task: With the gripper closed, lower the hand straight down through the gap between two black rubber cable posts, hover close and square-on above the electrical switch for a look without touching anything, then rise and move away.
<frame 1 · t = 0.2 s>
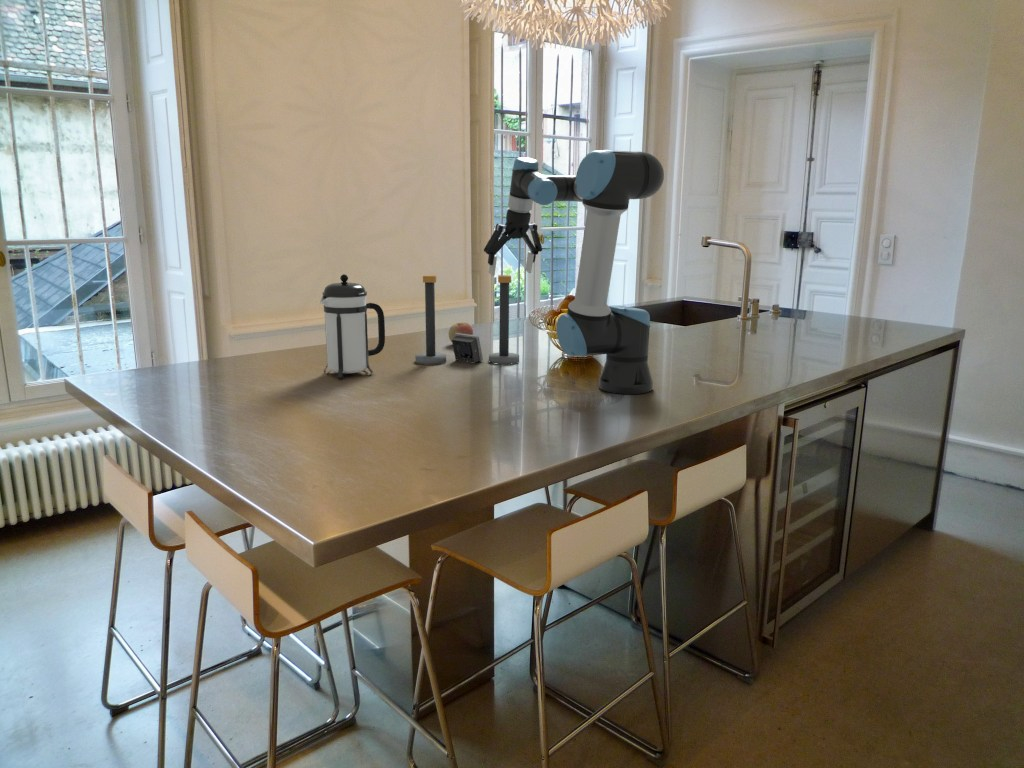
hand: (510, 272, 246), 29 cm above the kitchen island, tool tilted 15°, fingers open, 13 cm apart
coffee press: (351, 374, 230), on the kitchen island
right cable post: (503, 361, 249), on the kitchen island
electrical switch: (467, 362, 249), on the kitchen island
apple: (460, 345, 276), on the kitchen island
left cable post: (430, 361, 248), on the kitchen island
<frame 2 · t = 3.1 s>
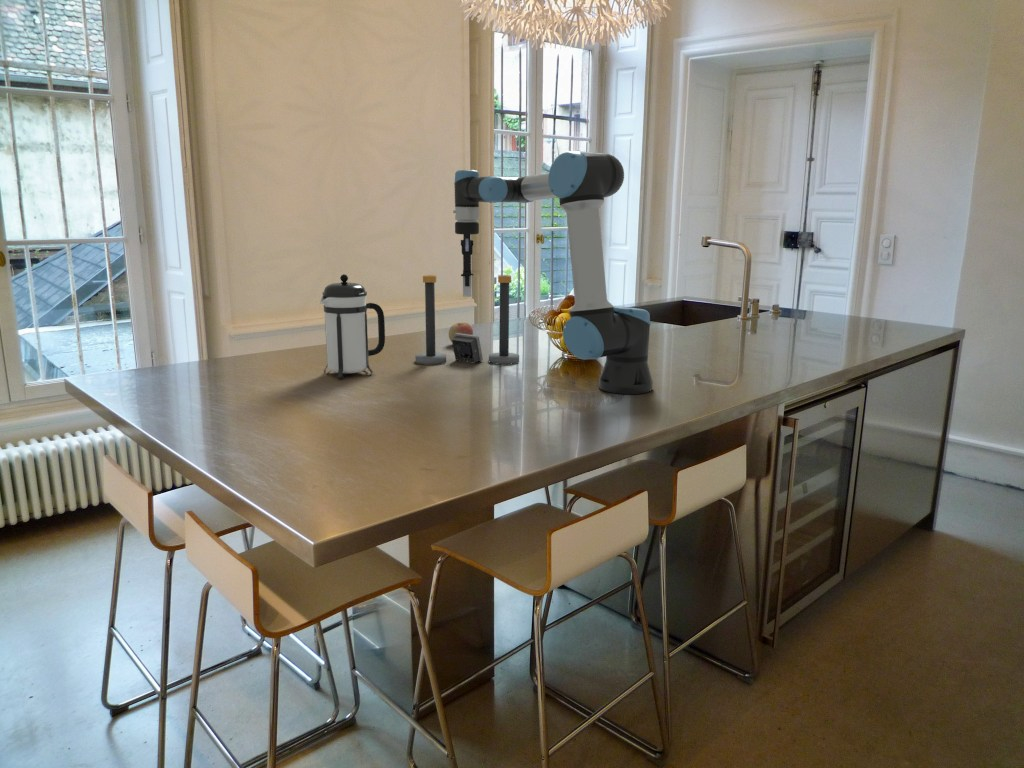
hand: (467, 296, 244), 21 cm above the kitchen island, tool pointing down, fingers closed
nothing on the kitchen island moved.
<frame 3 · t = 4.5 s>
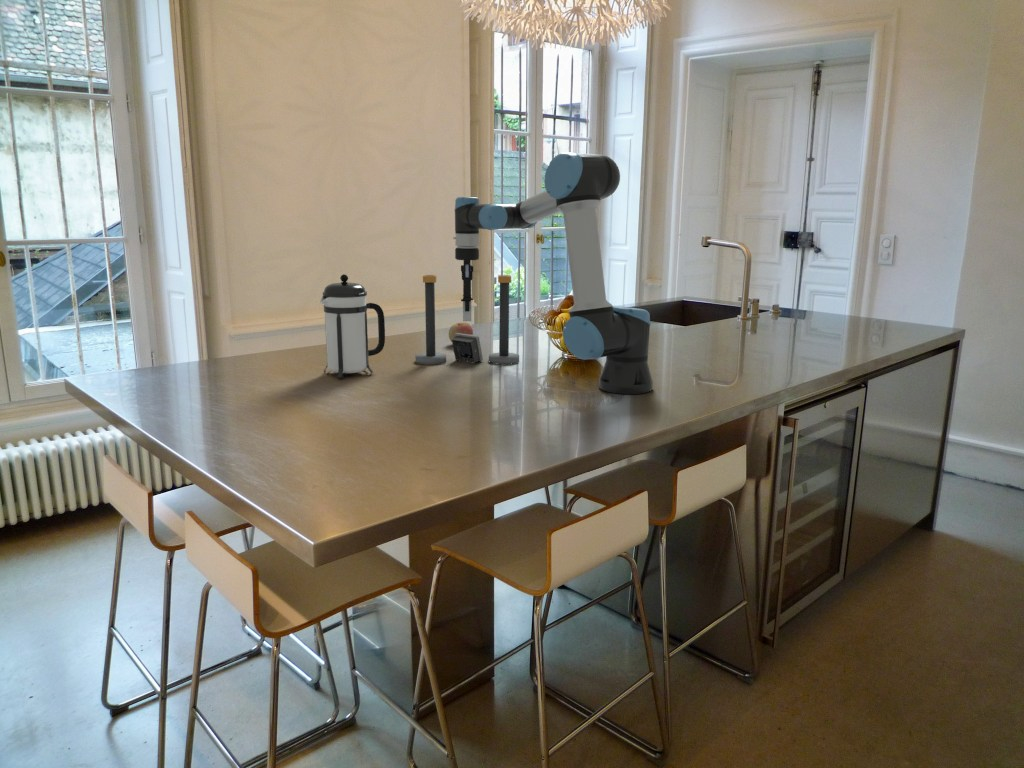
hand: (467, 320, 246), 13 cm above the kitchen island, tool pointing down, fingers closed
nothing on the kitchen island moved.
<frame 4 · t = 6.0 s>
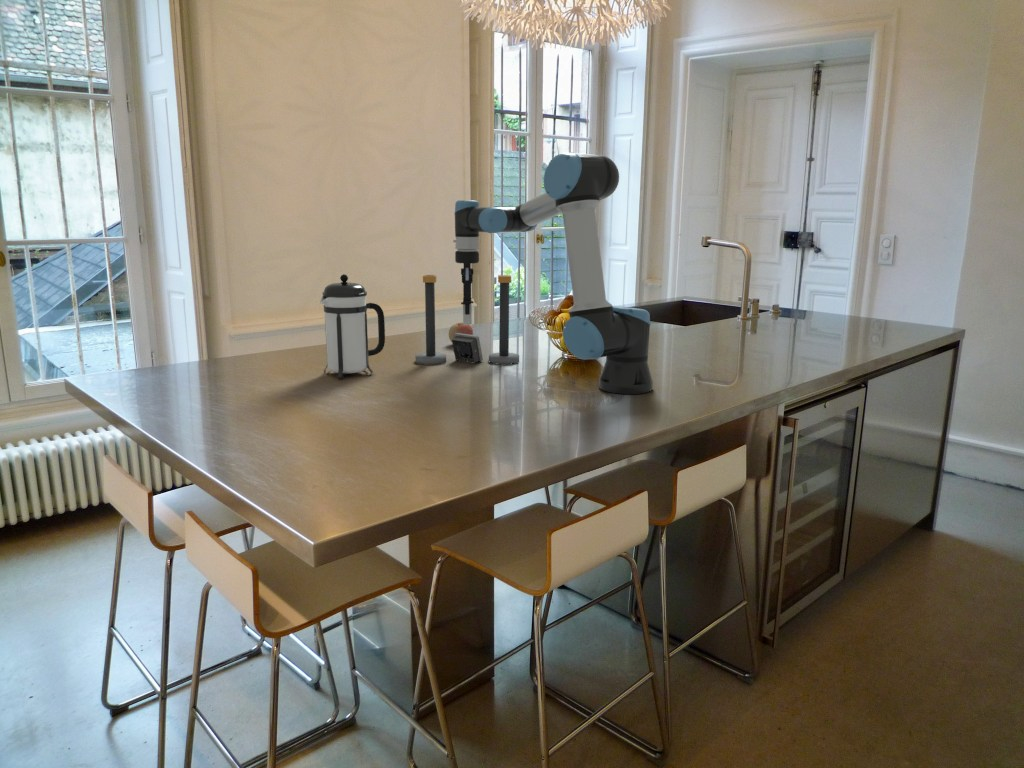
hand: (467, 324, 246), 12 cm above the kitchen island, tool pointing down, fingers closed
nothing on the kitchen island moved.
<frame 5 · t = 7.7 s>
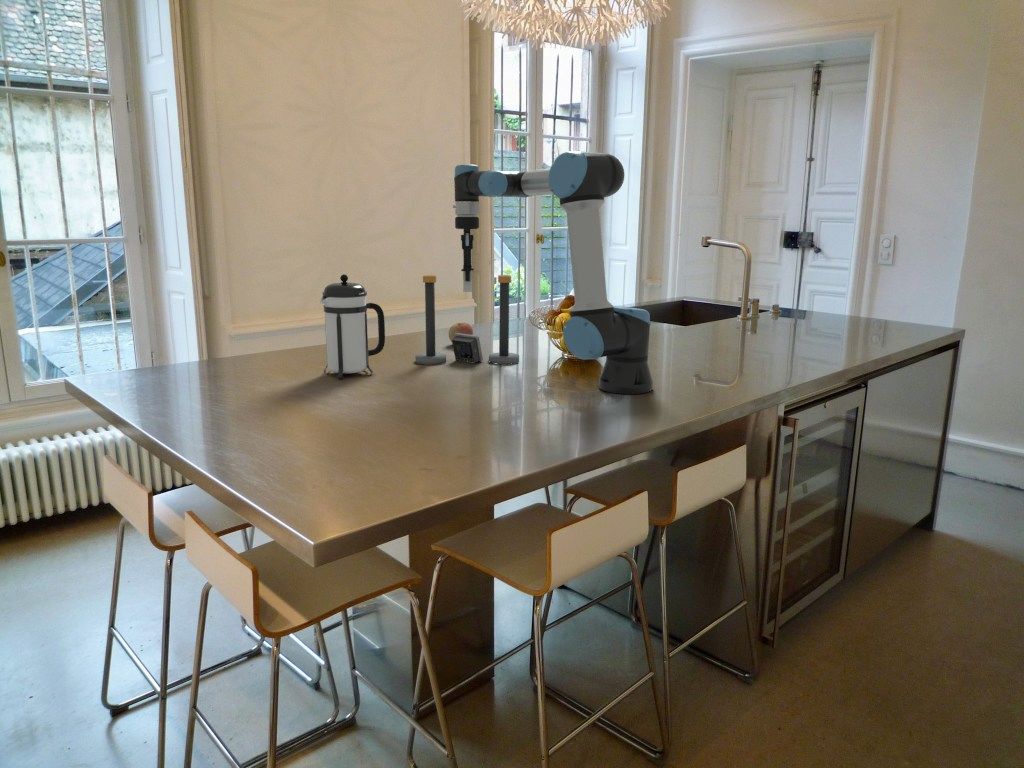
hand: (467, 291, 243), 23 cm above the kitchen island, tool pointing down, fingers closed
nothing on the kitchen island moved.
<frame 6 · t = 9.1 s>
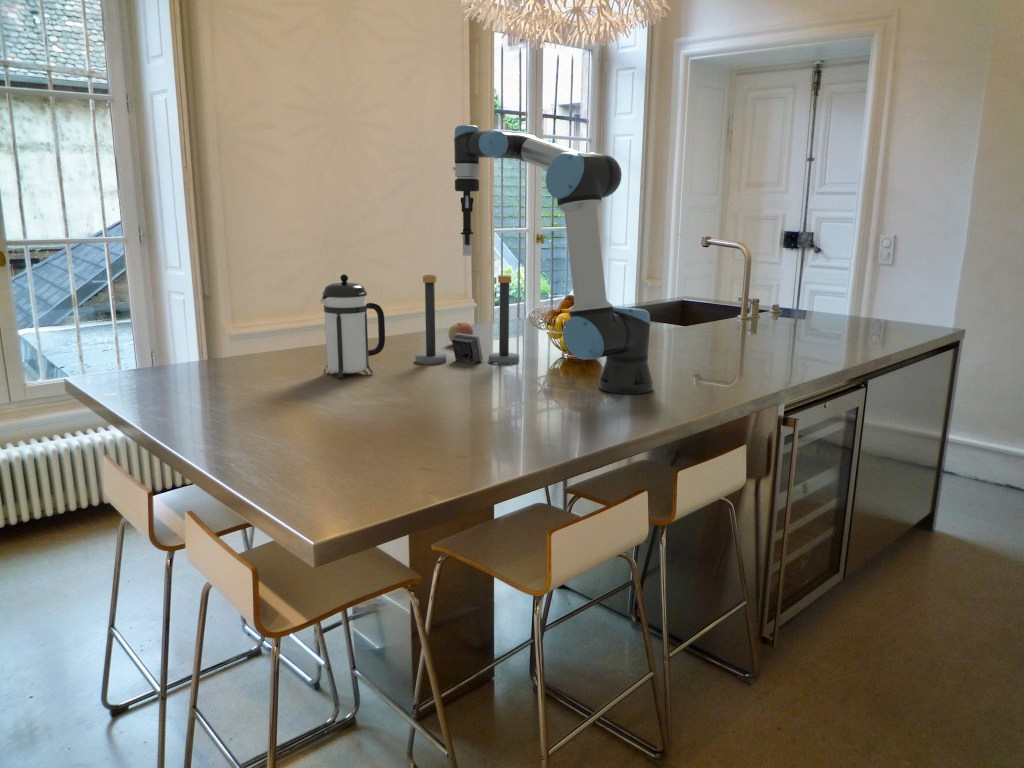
hand: (467, 255, 240), 34 cm above the kitchen island, tool pointing down, fingers closed
nothing on the kitchen island moved.
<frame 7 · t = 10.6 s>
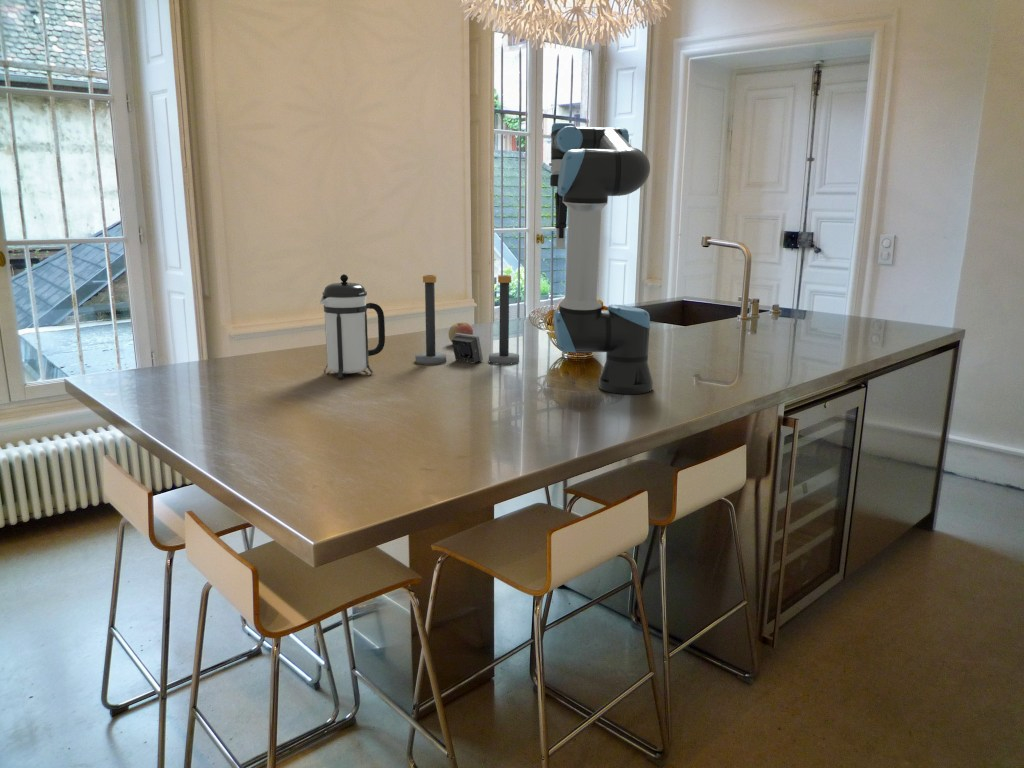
hand: (560, 248, 249), 36 cm above the kitchen island, tool pointing down, fingers closed
nothing on the kitchen island moved.
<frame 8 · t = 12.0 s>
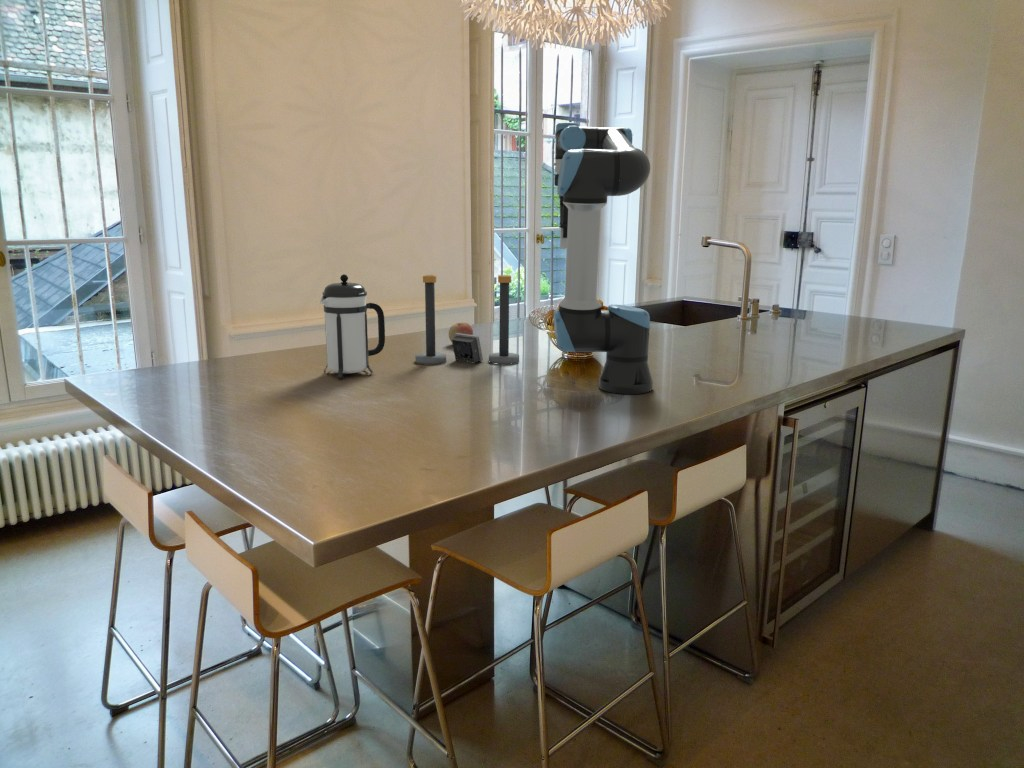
hand: (564, 248, 249), 36 cm above the kitchen island, tool pointing down, fingers closed
nothing on the kitchen island moved.
at the end: electrical switch moved 0.3 cm from its start; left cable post moved 0.0 cm from its start; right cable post moved 0.0 cm from its start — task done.
